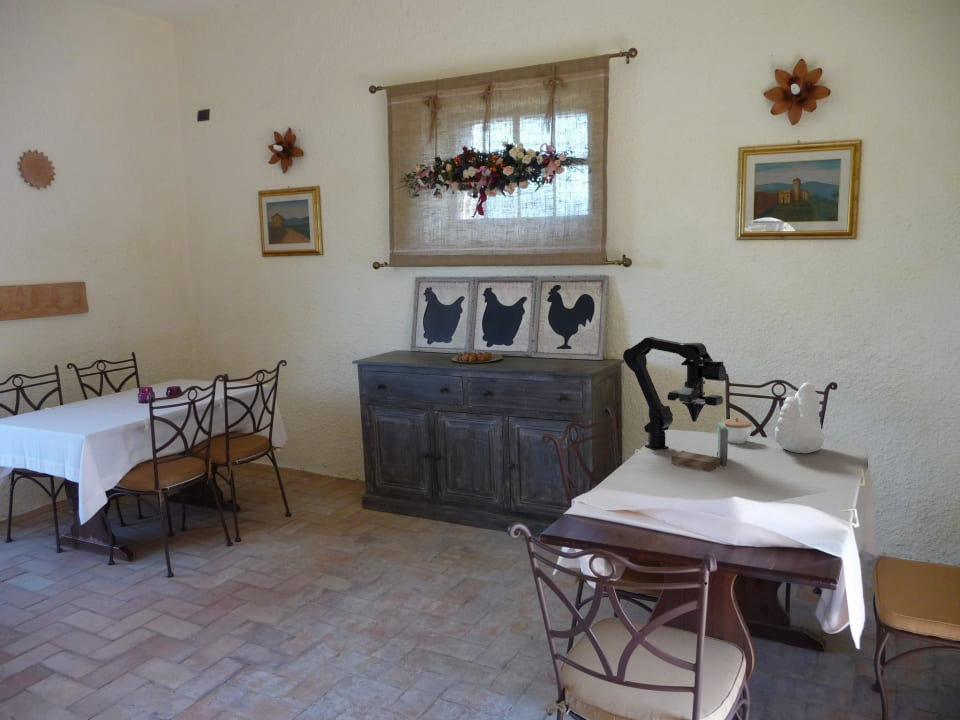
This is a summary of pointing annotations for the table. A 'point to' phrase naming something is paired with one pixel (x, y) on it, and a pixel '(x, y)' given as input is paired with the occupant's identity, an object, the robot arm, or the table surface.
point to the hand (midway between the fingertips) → (694, 421)
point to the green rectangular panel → (722, 443)
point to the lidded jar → (738, 430)
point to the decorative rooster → (800, 422)
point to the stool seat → (695, 460)
